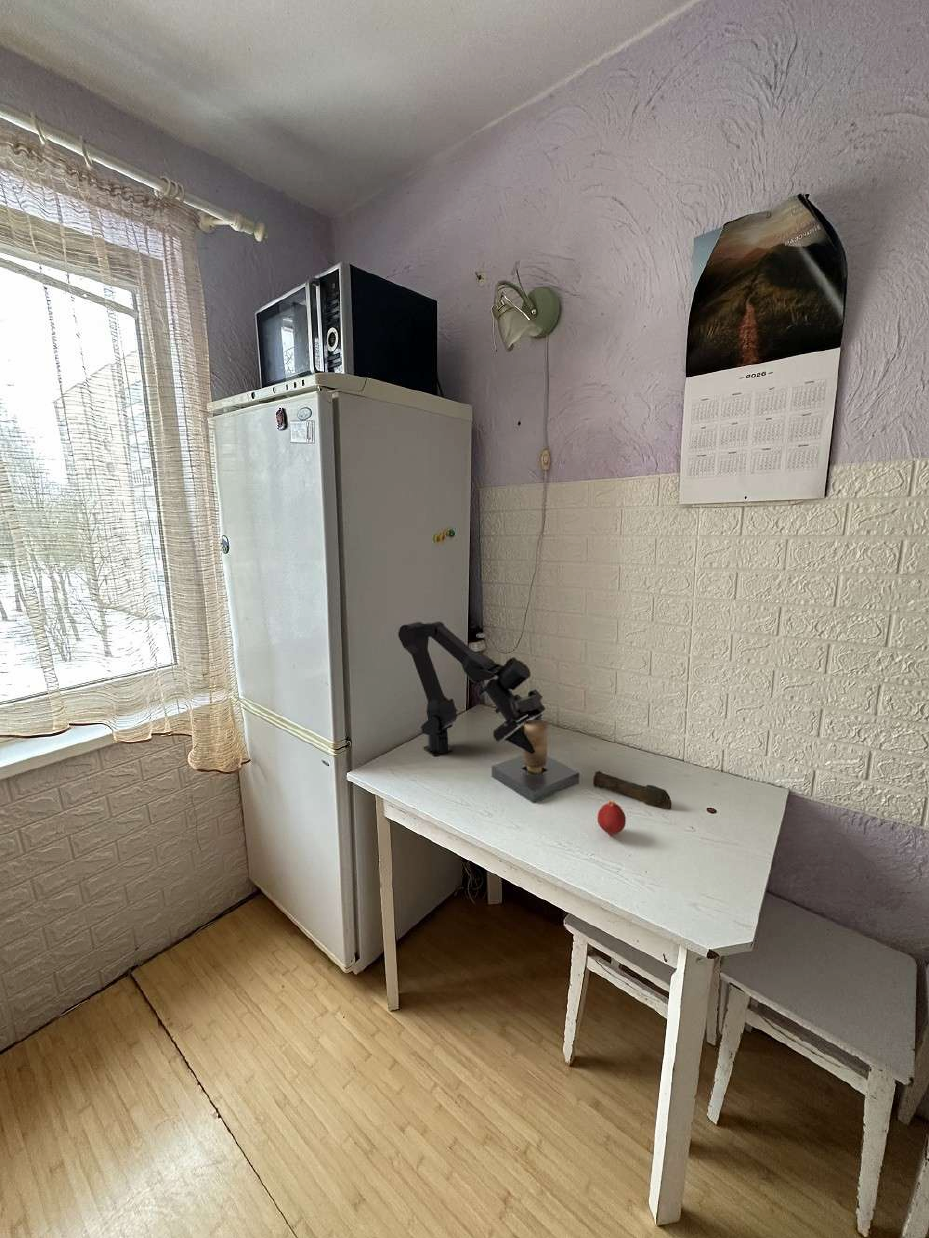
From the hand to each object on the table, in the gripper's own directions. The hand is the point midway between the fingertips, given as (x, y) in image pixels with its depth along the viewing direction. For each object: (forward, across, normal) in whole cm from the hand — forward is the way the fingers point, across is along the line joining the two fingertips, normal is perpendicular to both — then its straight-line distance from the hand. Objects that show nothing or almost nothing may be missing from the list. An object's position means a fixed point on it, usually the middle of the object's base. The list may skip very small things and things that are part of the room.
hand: (539, 748), depth 129 cm
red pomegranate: (+23, -11, -10) cm, 28 cm away
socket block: (+6, 0, +7) cm, 9 cm away
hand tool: (+22, +7, -9) cm, 25 cm away
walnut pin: (+4, 0, +6) cm, 7 cm away
